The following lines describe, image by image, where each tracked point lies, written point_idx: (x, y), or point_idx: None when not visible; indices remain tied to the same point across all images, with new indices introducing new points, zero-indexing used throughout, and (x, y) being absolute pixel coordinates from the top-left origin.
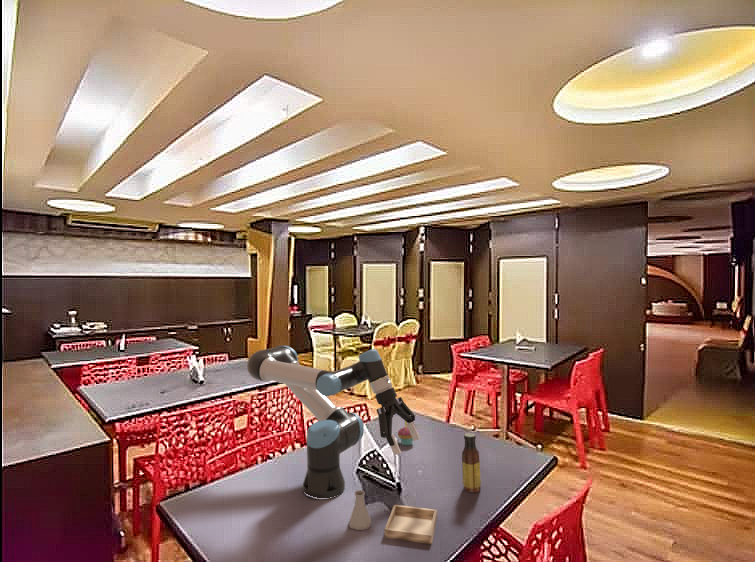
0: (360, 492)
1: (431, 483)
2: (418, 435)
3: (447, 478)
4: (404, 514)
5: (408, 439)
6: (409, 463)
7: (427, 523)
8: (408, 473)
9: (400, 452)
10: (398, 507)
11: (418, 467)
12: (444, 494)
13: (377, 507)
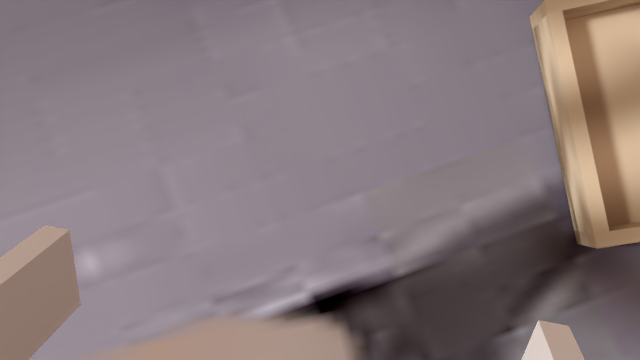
0: None
1: (202, 156)
2: (21, 251)
3: (116, 92)
4: (598, 177)
5: None
6: None
7: (628, 34)
8: (139, 316)
9: (554, 328)
10: (604, 216)
11: None
12: (289, 55)
13: None
